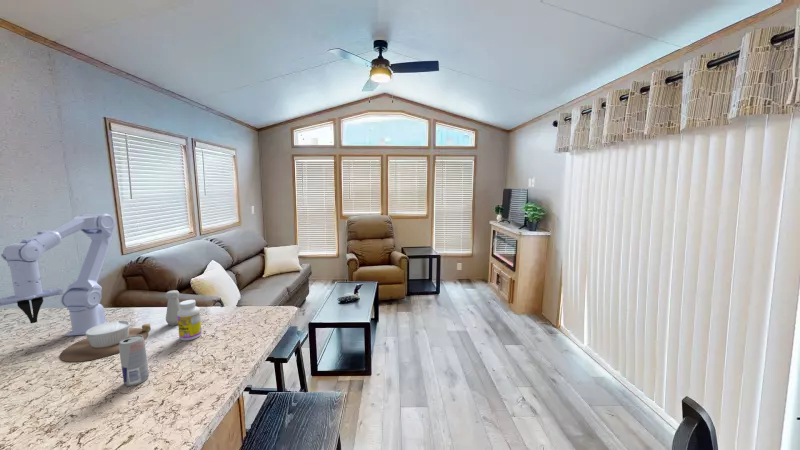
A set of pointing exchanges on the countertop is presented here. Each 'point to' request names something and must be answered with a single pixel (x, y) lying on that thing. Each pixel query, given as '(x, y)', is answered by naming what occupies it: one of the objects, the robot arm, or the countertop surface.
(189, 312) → the supplement bottle
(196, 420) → the countertop surface
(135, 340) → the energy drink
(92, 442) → the countertop surface
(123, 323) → the ramekin
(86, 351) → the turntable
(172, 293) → the salt shaker
